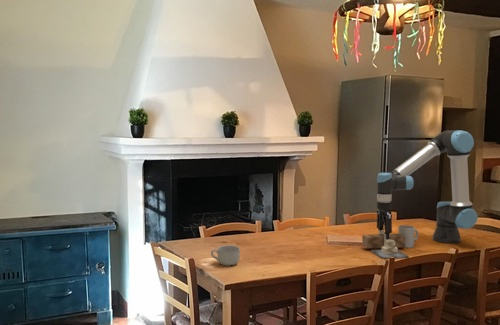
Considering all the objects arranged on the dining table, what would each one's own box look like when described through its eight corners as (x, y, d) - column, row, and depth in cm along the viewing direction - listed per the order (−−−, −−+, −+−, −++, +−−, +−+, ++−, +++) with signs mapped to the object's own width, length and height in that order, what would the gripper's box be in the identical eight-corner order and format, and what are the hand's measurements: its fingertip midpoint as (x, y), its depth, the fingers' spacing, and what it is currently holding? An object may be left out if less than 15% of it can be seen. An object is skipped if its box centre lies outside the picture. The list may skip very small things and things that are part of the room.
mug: (404, 248, 259) (405, 228, 259) (394, 244, 267) (395, 225, 267) (422, 246, 263) (423, 227, 263) (412, 243, 271) (413, 224, 271)
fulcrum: (395, 250, 254) (396, 237, 254) (408, 258, 241) (409, 243, 240) (371, 251, 252) (371, 237, 251) (382, 259, 238) (383, 244, 238)
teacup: (239, 261, 233) (239, 245, 233) (240, 267, 223) (240, 250, 222) (211, 261, 233) (211, 245, 232) (210, 267, 222) (210, 250, 221)
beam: (399, 244, 263) (400, 233, 263) (405, 247, 257) (405, 236, 257) (362, 245, 260) (362, 234, 259) (366, 248, 254) (367, 237, 253)
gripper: (370, 199, 265) (370, 239, 267) (385, 204, 246) (385, 248, 248) (383, 198, 266) (382, 239, 268) (399, 204, 248) (398, 247, 250)
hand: (384, 243), depth 258 cm, fingers closed on beam, 6 cm apart
